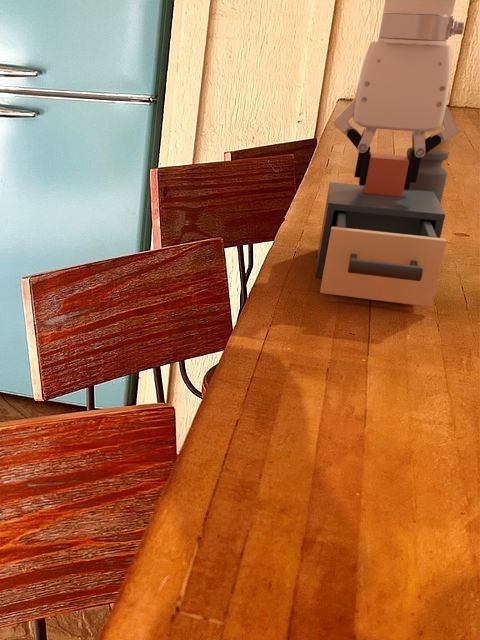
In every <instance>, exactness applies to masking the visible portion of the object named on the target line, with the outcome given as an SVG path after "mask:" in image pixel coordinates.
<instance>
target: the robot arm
mask: <svg viewBox="0 0 480 640" xmlns="http://www.w3.org/2000/svg"><path fill="white" fill-rule="evenodd" d="M455 4H456V0H384V5H383V11H382V12H383V13H382V16H381V20H380V26H379V32H378V33H379V34H378V37H377V41H370V43H369V45H368V48H367V50H366V54H365V57H364V60H363V63H362V67H361V72H360V76H359V80H358V83H357V90H356V92H355V98H354V99H353V100H352V101H351V102H350V103H349V104H348V105H347V106H346V107H345V108H344V109H343V110H342V111H341V112H340V113H339V114H338V115H337V117H336V118H335V119H334V120H333V125H334V127H336V129H338V130H339V131H340V132H341V133H343V134H344V135H345V136H346V137H347V138H348V140H349V141H350V142H351V143H352V145H353V146H354V147H355V148H356V150H357V151H358V154H357V159H356V165H355V169H354V175H353V176H354V178H358V185H360V186H364V185H365V183H366V178H367V173H368V168H369V162H370V157H371V153H372V152H371V146H370V145H371V143H372V141H373V138H374V136H375V134H376V131H377V130H391V131H403V132H411V139H412V138H413V149H412V150H411V151H410V154H409V155H407V154H406V156H407V157H408V159H409V165H408V170H407V175H406V180H405V185H404V190H409V187H410V182H413V183H416V180H417V176H418V171H419V166H420V161H421V157H423V156H424V155H425V154H426V153H427V152H429V151H430V150H432V149H433V148H434V147H436V146H437V145H439V144H440V143H442V142H444V141H446V140H448V139H450V140H451V139H452V138H453V137H456V136H457V135H458V134H459V133H460V128H459V126H458V124H457V123H456V120H455V118H454V117H453V114H452V113H451V110H450V109H449V107H448V105H447V102H448V96H449V92H450V91H449V90H450V83H451V76H452V75H451V74H452V62H453V45H452V44H447V43H448V41H449V38H451V37H452V36H456V35H461V36H462V35H463V33H464V29H465V22H461V21H458V20H455V19H454V15H453V14H454V9H455ZM351 118H353V121H354V123H355V124H356V125H358V126H360V127H362V128H363V131H362V132H361V133H360V132H359V131H358V130H357V129H356V128H355V127H354V126H353V125H352V124H351V123H350V122H349V121H350V119H351ZM442 125H443V126H442ZM441 126H442V128H441ZM440 128H441V130H439V129H440ZM436 130H438V131H437V132H435V133H433V134H430V135H431V136H430V137H428V138H427V139H425V134H426V133H428V132H433V131H436Z"/></svg>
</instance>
